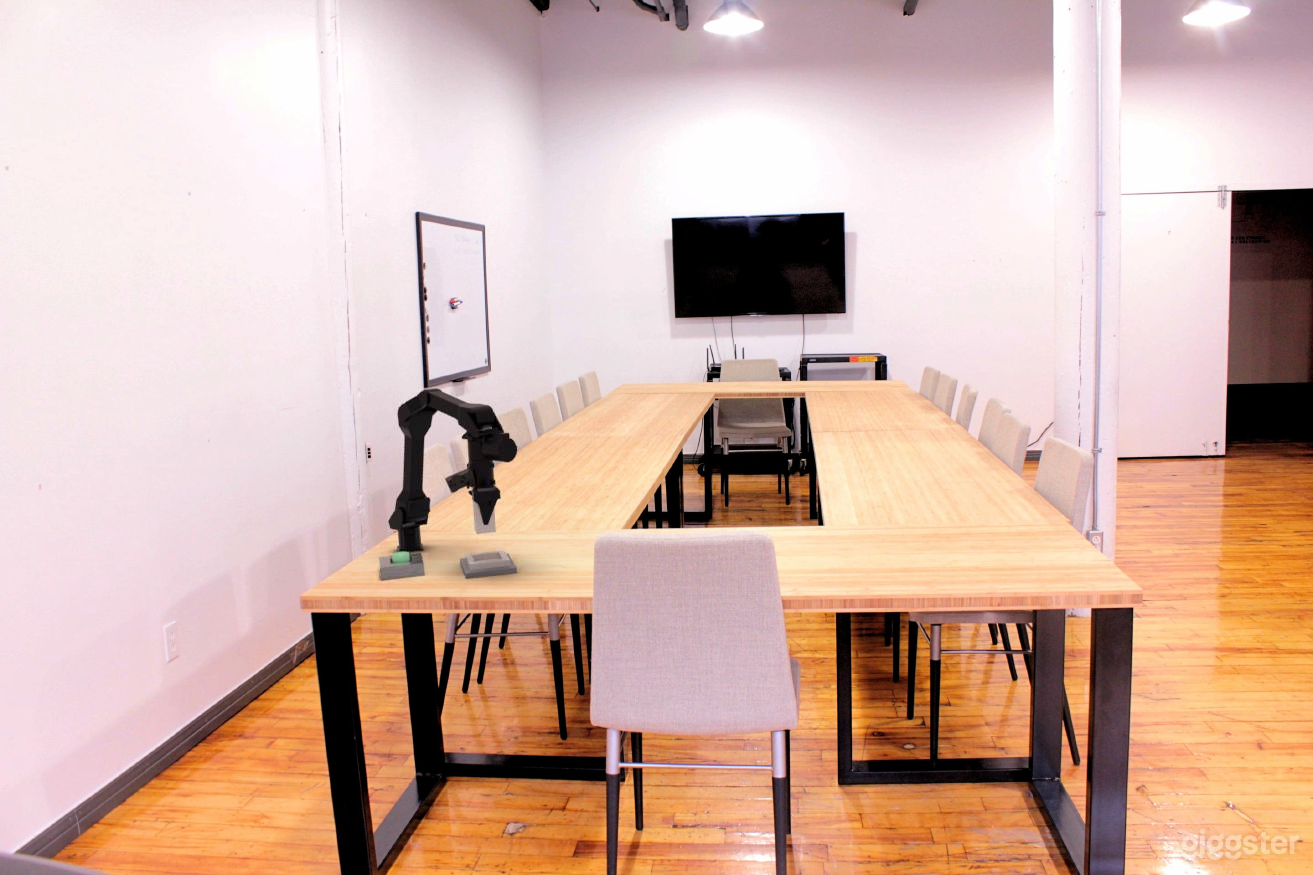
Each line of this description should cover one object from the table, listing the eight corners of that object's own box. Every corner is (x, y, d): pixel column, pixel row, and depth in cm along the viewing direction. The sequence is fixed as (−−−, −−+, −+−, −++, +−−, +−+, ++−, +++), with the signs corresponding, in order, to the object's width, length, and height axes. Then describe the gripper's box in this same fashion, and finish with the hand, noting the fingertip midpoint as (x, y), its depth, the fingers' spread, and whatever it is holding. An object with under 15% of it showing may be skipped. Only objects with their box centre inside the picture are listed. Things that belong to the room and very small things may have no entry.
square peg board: (380, 569, 242) (379, 557, 241) (421, 564, 244) (421, 552, 244) (380, 579, 232) (379, 567, 232) (424, 575, 235) (423, 562, 234)
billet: (474, 529, 239) (472, 497, 238) (493, 527, 240) (491, 495, 239) (476, 533, 235) (474, 501, 234) (495, 532, 236) (493, 499, 235)
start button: (392, 568, 239) (391, 552, 239) (409, 566, 241) (408, 550, 240) (393, 572, 236) (392, 556, 235) (410, 571, 237) (409, 554, 236)
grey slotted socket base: (460, 563, 244) (459, 552, 244) (508, 557, 247) (507, 547, 247) (465, 578, 231) (464, 567, 230) (517, 572, 234) (516, 561, 234)
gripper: (443, 455, 242) (447, 517, 244) (449, 467, 224) (454, 534, 226) (488, 451, 245) (492, 513, 247) (498, 463, 227) (502, 530, 229)
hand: (484, 522), depth 237 cm, fingers closed on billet, 4 cm apart
